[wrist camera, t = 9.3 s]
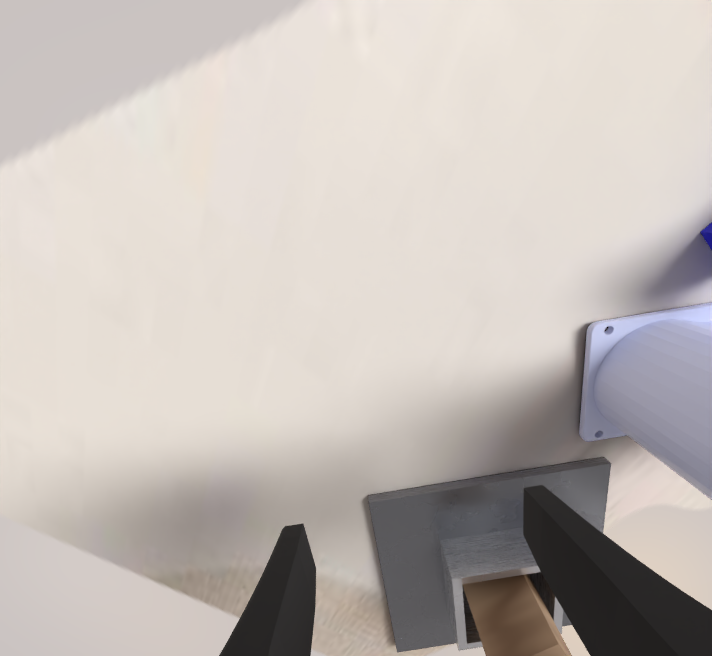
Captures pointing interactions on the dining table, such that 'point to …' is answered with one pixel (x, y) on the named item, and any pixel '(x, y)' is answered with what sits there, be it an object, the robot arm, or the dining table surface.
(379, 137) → the dining table surface
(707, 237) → the blue rectangular block
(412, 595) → the grey square socket base
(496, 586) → the rail end post
